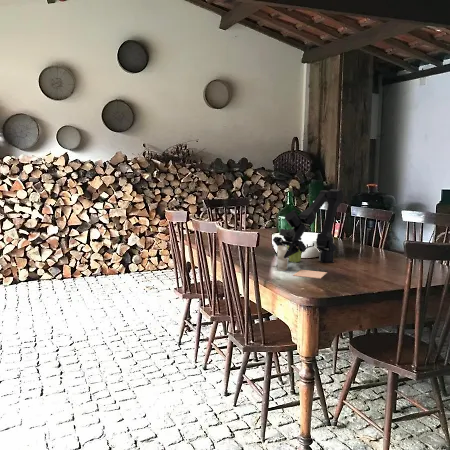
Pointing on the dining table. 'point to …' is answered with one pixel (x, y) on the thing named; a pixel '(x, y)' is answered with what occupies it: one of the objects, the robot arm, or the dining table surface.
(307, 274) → the placemat
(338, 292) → the dining table surface
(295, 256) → the plant pot
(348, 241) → the dining table surface
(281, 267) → the white cylinder
